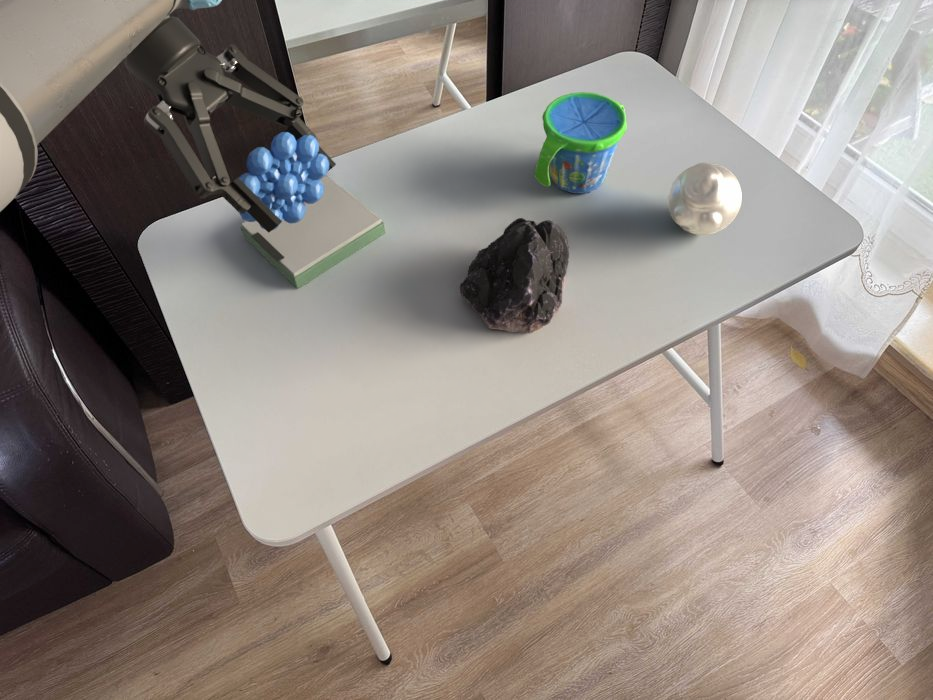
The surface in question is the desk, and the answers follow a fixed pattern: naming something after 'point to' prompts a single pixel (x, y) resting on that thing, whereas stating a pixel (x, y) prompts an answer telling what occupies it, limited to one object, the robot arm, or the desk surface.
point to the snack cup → (580, 141)
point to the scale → (317, 235)
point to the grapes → (286, 176)
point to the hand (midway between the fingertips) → (303, 197)
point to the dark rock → (519, 277)
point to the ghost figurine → (704, 198)
